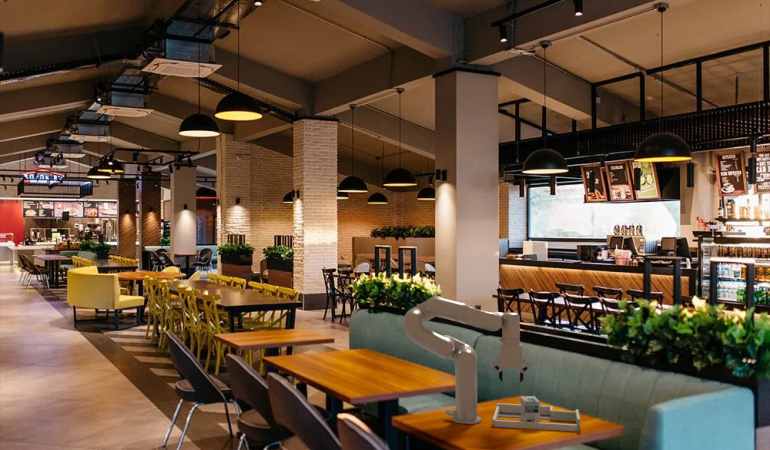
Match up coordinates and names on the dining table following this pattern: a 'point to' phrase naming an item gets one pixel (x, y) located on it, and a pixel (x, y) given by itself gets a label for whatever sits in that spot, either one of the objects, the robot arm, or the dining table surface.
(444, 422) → the dining table surface
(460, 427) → the dining table surface
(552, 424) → the frame
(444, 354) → the robot arm
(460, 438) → the dining table surface
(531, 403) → the light bulb box
